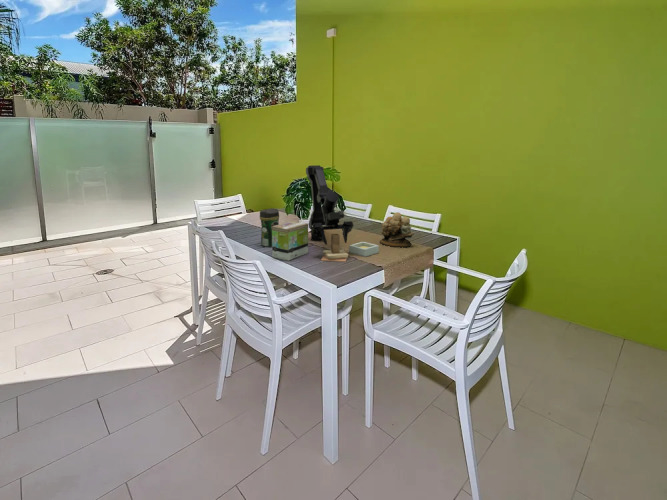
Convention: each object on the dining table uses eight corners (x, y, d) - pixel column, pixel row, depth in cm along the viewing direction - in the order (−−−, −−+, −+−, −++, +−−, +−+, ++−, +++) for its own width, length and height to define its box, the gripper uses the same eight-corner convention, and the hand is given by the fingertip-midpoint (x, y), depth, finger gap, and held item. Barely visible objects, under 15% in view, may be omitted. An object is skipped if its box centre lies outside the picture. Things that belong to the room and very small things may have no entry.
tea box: (289, 261, 167) (288, 228, 162) (272, 257, 172) (270, 226, 167) (309, 253, 179) (308, 222, 175) (292, 249, 184) (291, 220, 180)
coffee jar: (272, 241, 198) (271, 206, 193) (283, 244, 193) (281, 208, 188) (258, 245, 191) (256, 209, 185) (268, 248, 186) (267, 211, 181)
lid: (323, 254, 174) (323, 233, 172) (341, 253, 177) (341, 231, 174) (328, 260, 166) (328, 237, 163) (347, 258, 169) (348, 236, 166)
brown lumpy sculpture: (416, 244, 194) (419, 211, 189) (409, 250, 184) (411, 216, 179) (384, 239, 203) (385, 208, 198) (375, 244, 193) (376, 212, 188)
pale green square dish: (349, 252, 180) (349, 245, 179) (363, 248, 186) (363, 241, 185) (364, 256, 173) (364, 249, 172) (378, 252, 179) (378, 245, 178)
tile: (321, 260, 167) (321, 259, 167) (325, 253, 178) (325, 252, 178) (345, 262, 166) (345, 261, 165) (348, 254, 176) (348, 253, 176)
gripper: (312, 205, 166) (319, 235, 159) (352, 203, 171) (360, 232, 164) (308, 219, 175) (314, 248, 168) (346, 217, 181) (354, 245, 174)
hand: (336, 243), depth 168 cm, fingers open, 9 cm apart
